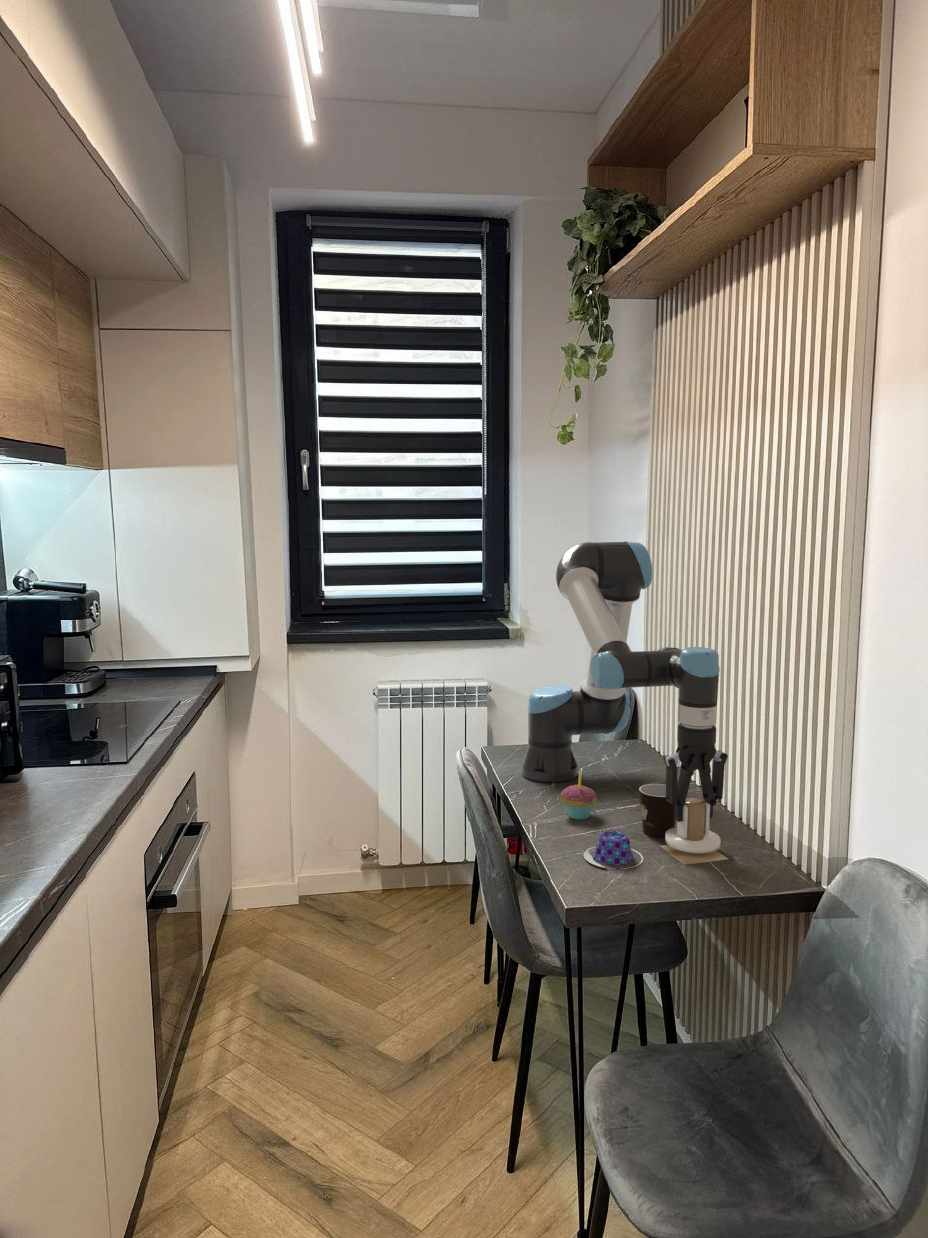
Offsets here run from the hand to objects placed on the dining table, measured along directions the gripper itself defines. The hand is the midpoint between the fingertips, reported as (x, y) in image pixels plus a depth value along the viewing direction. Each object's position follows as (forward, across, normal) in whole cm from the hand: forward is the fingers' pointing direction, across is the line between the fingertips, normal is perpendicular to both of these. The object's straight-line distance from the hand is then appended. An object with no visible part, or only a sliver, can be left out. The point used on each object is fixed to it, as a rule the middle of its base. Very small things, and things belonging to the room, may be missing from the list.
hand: (692, 834), depth 174 cm
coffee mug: (+5, -1, +12) cm, 13 cm away
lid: (+2, 0, 0) cm, 2 cm away
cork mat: (+4, 0, 0) cm, 4 cm away
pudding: (+5, -17, +2) cm, 18 cm away
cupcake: (+5, -14, +26) cm, 30 cm away
